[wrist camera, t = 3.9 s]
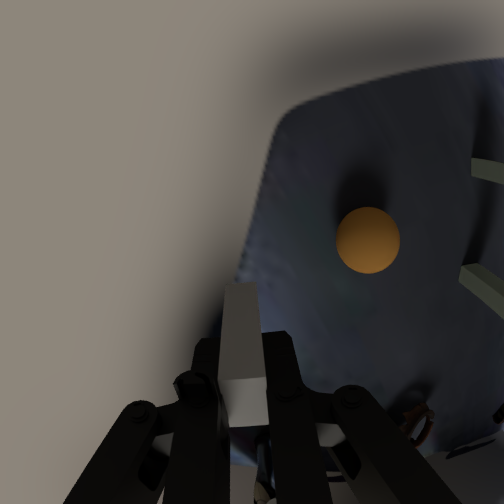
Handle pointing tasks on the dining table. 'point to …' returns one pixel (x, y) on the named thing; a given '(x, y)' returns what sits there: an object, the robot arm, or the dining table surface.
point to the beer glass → (264, 472)
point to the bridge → (474, 275)
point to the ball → (367, 240)
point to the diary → (499, 416)
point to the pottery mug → (412, 421)
